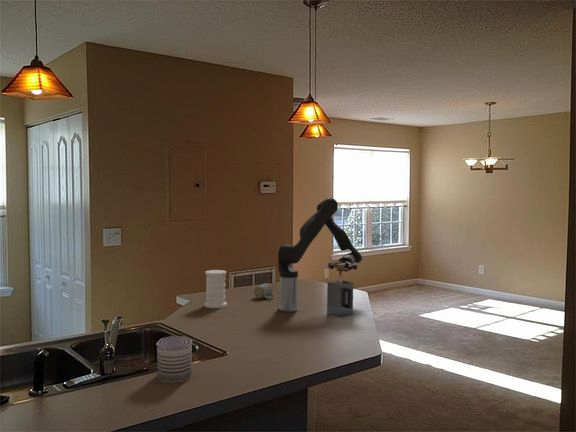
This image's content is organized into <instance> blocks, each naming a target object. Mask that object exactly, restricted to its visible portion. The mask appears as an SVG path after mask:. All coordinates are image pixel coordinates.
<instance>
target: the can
mask: <svg viewBox="0 0 576 432" xmlns="http://www.w3.org/2000/svg"><path fill="white" fill-rule="evenodd" d="M193 341H194V340H192V339H191V338H189V337H188V336H184V335H182V336H181V335H169V336H166V337H162V338H160V339H159V340H157V342H156V343H155V344H156V352H157V353H156V354H157V355H156V359H157V361H156V362H157V363H156V371H157V373H156V374H157V375H156V376H157V377H156V378H157V380H159V381H160V382H161V383H169V384H173V383H182V382H185V381H187V380H190V379H191V377H192V375H193V372H192V371H193V366H192V365H193V356H192V355H193V349H192V346H193V345H192V343H193Z"/></svg>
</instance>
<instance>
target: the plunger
mask: <svg viewBox="0 0 576 432" xmlns="http://www.w3.org/2000/svg"><path fill="white" fill-rule="evenodd" d="M335 271H337V272H338V276H339V277H338V280H339V283H342V280H343V279H342V278H343V276H342V275H343V273H342V272H346V271H345V264H337V268H336V270H335Z"/></svg>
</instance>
